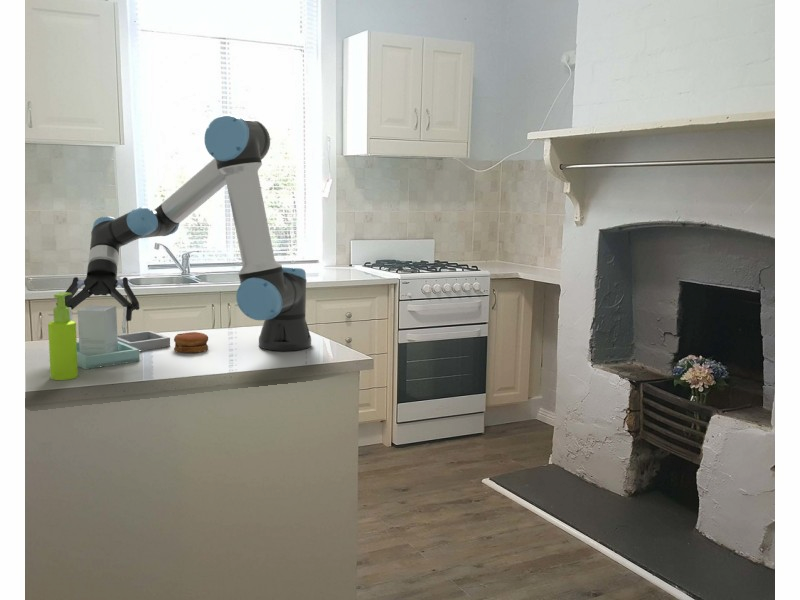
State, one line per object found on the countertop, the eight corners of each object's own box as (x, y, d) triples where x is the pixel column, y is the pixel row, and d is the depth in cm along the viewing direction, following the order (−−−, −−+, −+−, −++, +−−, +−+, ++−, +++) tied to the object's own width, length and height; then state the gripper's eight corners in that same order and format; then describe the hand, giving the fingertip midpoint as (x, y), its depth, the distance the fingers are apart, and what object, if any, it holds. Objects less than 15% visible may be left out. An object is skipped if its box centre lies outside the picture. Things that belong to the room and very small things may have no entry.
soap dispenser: (83, 372, 175) (80, 291, 172) (71, 380, 168) (68, 295, 165) (59, 372, 175) (55, 290, 172) (46, 379, 168) (42, 295, 165)
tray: (139, 360, 188) (139, 349, 187) (85, 369, 178) (85, 357, 177) (109, 348, 200) (109, 337, 200) (57, 355, 190) (56, 344, 190)
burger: (209, 353, 199) (209, 336, 198) (174, 354, 196) (174, 338, 195) (207, 345, 208) (207, 329, 207) (173, 346, 205) (173, 330, 204)
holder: (170, 346, 205) (170, 337, 204) (129, 352, 196) (129, 343, 196) (150, 338, 213) (149, 330, 212) (110, 344, 204) (109, 335, 204)
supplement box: (119, 352, 193) (117, 305, 191) (106, 359, 185) (104, 310, 183) (92, 351, 193) (90, 304, 191) (78, 357, 186) (76, 309, 184)
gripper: (151, 274, 204) (148, 337, 192) (56, 274, 198) (46, 339, 186) (149, 257, 198) (145, 321, 186) (50, 257, 192) (40, 323, 180)
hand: (96, 330), depth 186 cm, fingers open, 13 cm apart
